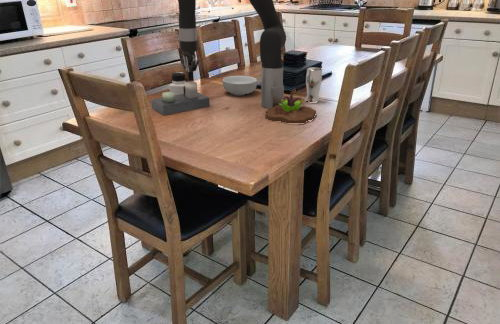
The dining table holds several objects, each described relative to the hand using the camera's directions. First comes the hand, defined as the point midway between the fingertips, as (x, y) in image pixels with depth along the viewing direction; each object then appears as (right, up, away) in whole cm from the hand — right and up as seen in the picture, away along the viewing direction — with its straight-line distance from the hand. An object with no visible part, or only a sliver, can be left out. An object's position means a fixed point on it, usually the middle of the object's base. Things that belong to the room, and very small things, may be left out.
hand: (190, 80), depth 176 cm
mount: (-4, -12, +2) cm, 12 cm away
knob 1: (-9, -13, -1) cm, 16 cm away
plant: (+43, -17, -9) cm, 47 cm away
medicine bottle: (-7, -6, +14) cm, 17 cm away
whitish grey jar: (0, -7, +3) cm, 8 cm away
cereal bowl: (+21, -2, +22) cm, 31 cm away
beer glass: (+55, -8, +10) cm, 56 cm away
